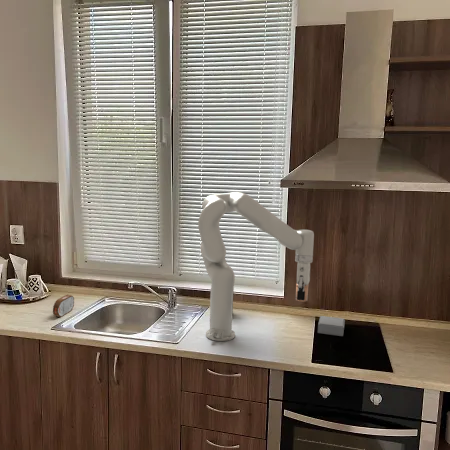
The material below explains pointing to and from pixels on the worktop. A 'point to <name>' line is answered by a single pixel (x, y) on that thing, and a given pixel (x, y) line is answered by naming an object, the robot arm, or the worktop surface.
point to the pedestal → (331, 325)
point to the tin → (63, 305)
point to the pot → (305, 292)
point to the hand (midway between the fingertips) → (301, 297)
